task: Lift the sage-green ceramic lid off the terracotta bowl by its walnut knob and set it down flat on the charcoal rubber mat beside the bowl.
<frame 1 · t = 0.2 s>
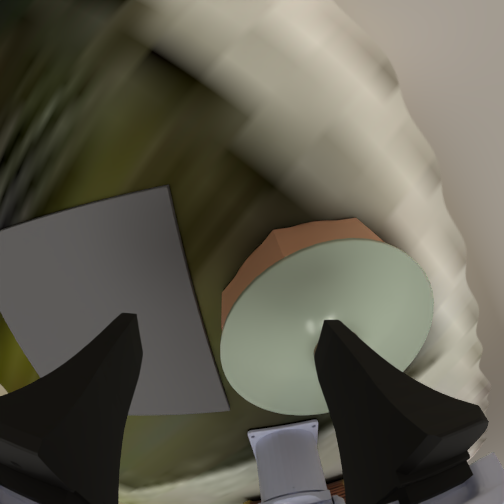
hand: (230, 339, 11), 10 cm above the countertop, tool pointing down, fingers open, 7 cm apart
picnic basket: (319, 493, 44), on the countertop
lid: (334, 343, 19), point 4 cm above the countertop, touching bowl
bowl: (317, 305, 23), on the countertop
rubber mat: (94, 334, 23), on the countertop
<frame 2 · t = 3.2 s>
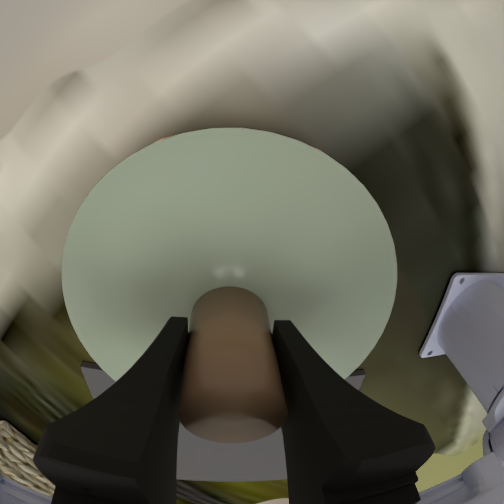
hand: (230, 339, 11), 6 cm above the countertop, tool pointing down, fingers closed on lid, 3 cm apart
lid: (229, 311, 13), point 4 cm above the countertop, touching bowl, gripper
rubber mat: (221, 441, 25), on the countertop
storage basket: (41, 460, 29), on the countertop
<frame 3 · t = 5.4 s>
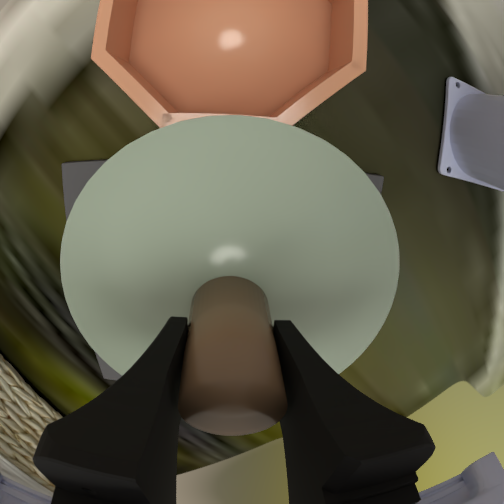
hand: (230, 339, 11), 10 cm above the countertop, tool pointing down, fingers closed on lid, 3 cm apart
lid: (229, 300, 13), point 8 cm above the countertop, touching gripper
bowl: (231, 25, 15), on the countertop
rubber mat: (215, 296, 23), on the countertop
storage basket: (8, 387, 27), on the countertop
when the fingers open (4 cm above the countertop, at t = 7.4 s): lid drops 1 cm, resting on rubber mat.
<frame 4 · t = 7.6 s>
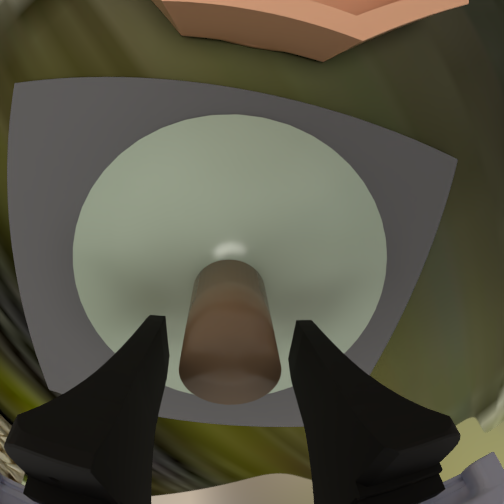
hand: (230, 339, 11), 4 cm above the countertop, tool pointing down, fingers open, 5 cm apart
lid: (229, 285, 14), point 1 cm above the countertop, touching rubber mat
rubber mat: (206, 301, 15), on the countertop
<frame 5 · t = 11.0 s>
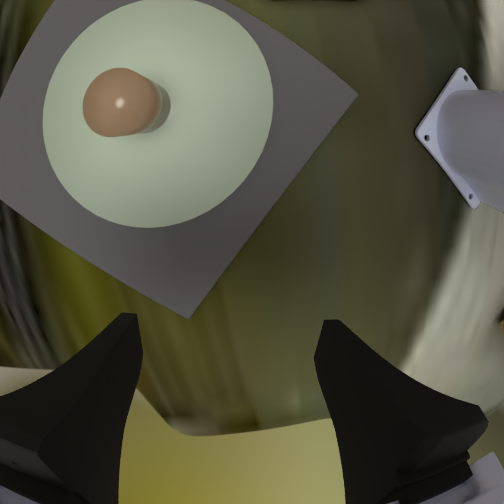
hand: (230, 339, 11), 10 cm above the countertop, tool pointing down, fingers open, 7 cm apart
lid: (147, 108, 16), point 1 cm above the countertop, touching rubber mat
rubber mat: (126, 121, 17), on the countertop
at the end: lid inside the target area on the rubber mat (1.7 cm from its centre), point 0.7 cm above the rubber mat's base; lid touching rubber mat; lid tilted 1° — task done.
